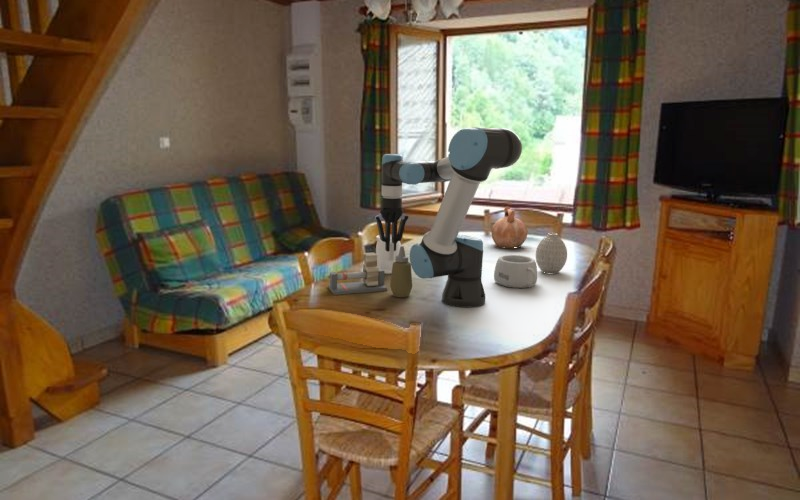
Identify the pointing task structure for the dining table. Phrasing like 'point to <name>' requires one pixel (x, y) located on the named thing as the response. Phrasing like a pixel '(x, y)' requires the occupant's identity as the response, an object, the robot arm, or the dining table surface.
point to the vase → (551, 254)
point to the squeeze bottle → (401, 275)
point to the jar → (385, 255)
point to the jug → (509, 230)
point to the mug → (515, 271)
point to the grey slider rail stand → (354, 283)
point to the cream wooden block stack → (370, 269)
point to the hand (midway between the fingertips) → (390, 259)
